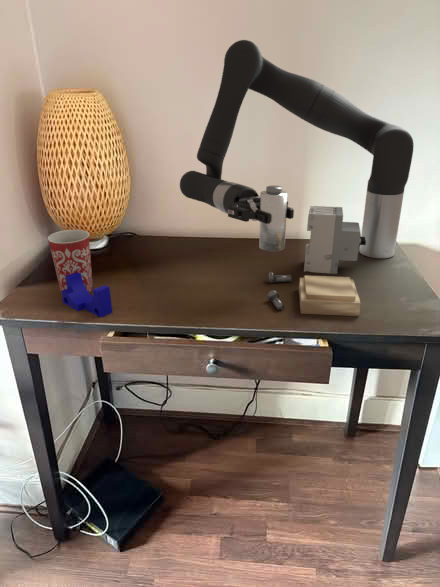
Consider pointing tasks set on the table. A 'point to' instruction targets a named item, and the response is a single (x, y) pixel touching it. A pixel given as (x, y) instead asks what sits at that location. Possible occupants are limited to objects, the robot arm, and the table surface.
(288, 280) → the bolt
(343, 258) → the circuit breaker
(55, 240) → the mug
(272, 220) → the silver metal bottle
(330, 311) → the stand
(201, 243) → the table surface
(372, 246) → the robot arm
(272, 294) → the bolt
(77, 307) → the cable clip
